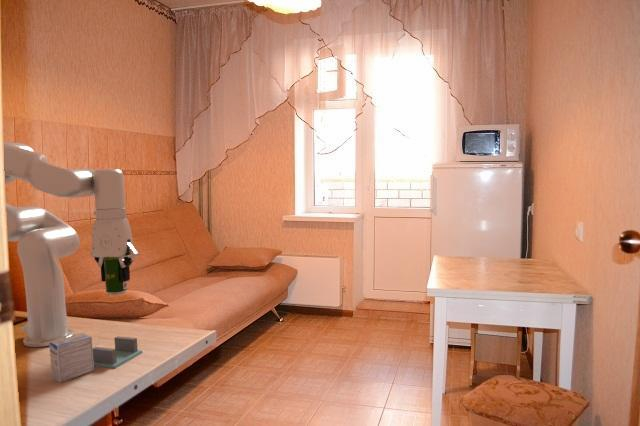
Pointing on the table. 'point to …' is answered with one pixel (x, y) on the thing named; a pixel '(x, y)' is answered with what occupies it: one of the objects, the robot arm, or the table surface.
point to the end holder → (116, 353)
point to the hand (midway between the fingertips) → (115, 280)
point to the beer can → (113, 277)
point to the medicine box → (71, 357)
